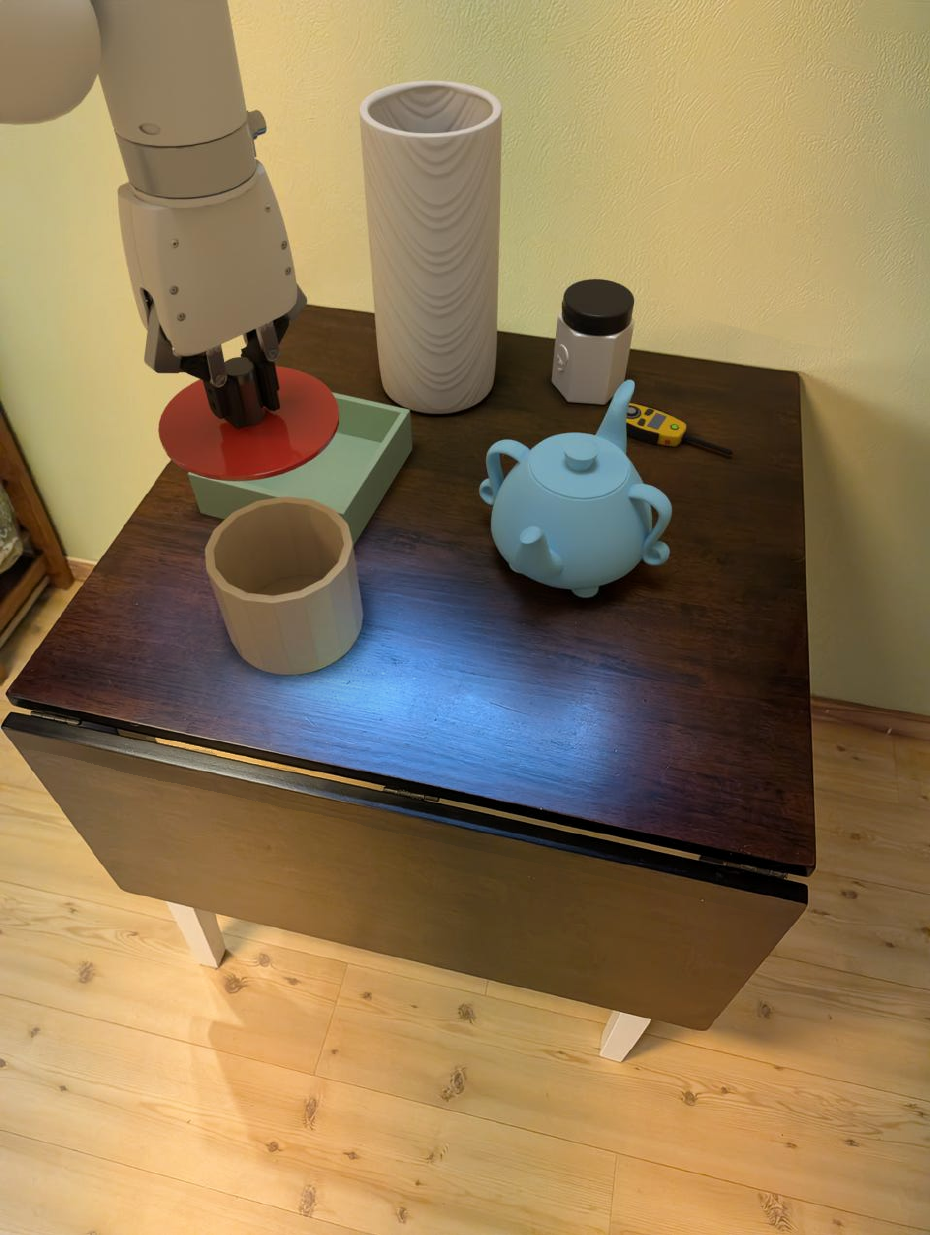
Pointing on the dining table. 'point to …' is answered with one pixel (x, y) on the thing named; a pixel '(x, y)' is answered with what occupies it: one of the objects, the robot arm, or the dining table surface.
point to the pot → (286, 584)
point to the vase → (434, 239)
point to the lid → (250, 426)
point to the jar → (593, 341)
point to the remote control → (660, 428)
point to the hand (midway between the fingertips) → (247, 409)
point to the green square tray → (329, 468)
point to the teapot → (576, 506)
